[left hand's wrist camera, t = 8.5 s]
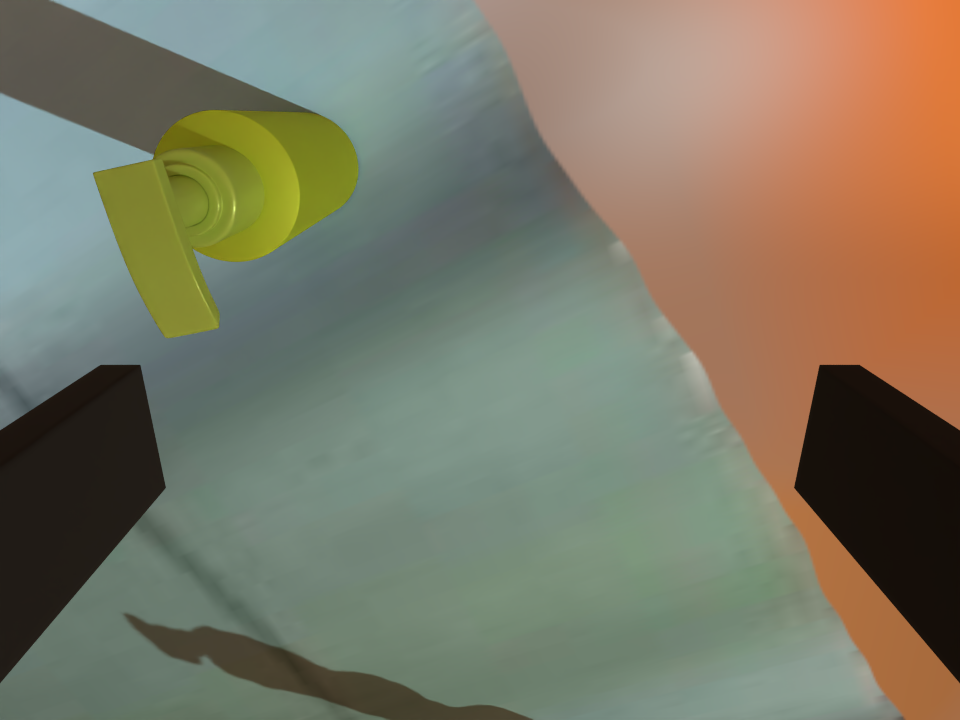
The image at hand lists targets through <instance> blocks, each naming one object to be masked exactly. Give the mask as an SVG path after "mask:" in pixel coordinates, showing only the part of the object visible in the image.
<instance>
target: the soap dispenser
mask: <svg viewBox="0 0 960 720" xmlns="http://www.w3.org/2000/svg"><path fill="white" fill-rule="evenodd" d="M93 175H94V178H95V181H96V184H97V187H98V190H99V193H100V196H101V199H102V201H103V204H104V207H105V210H106V213H107V216H108V218H109V221H110V224H111V227H112V229H113V232H114V235H115V238H116V240H117V243H118V245H119V248H120V251H121V253H122V256H123V258H124V261H125V263H126V265H127V268H128V270H129V272H130V275H131V277H132V279H133V281H134V283H135V285H136V287H137V289H138V291H139V293H140V295H141V297H142V299H143V301H144V303H145V305H146V307H147V308H148V310H149V312H150V314H151V316H152V317H153V319H154V321H155V322H156V324H157V326H158V327H159V329H160V331H161V332H162V334H163V335H164V337H166V338H172V337H177V336H183V335H188V334H193V333H198V332H203V331H208V330H213V329H217V328H219V316H220V314H219V311H218V308H217V306H216V304H215V302H214V300H213V298H212V296H211V294H210V292H209V290H208V287H207V285H206V283H205V280H204V278H203V275H202V273H201V270H200V268H199V265H198V263H197V260H196V257H195V254H194V252H193V249H194V250H196V251H198V252H200V253H202V254H204V255H206V256H209V257H211V258H214V259H218V260H223V261H230V262H242V261H250V260H254V259H257V258H260V257H263V256H265V255H267V254H269V253H270V252H272V251H274V250H275V249H277V248H278V247H280V246H281V245H283V244H284V243H286V242H288V241H289V240H291V239H292V238H294V237H295V236H297V235H298V234H300V233H302V232H303V231H305V230H306V229H308V228H309V227H311V226H312V225H314V224H315V223H317V222H319V221H320V220H322V219H323V218H325V217H326V216H328V215H329V214H331V213H333V212H334V211H336V210H337V209H339V208H340V207H341V206H343V205H344V204H345V203H346V202H347V200H348V199H349V198H350V196H351V195H352V193H353V191H354V189H355V186H356V183H357V178H358V160H357V155H356V152H355V149H354V147H353V145H352V143H351V141H350V139H349V138H348V136H347V135H346V134H345V132H344V131H343V130H342V129H341V128H340V127H339V126H338V125H336V124H335V123H334V122H332V121H331V120H329V119H327V118H325V117H323V116H320V115H317V114H314V113H306V112H272V111H237V110H206V111H201V112H197V113H193V114H191V115H188V116H186V117H184V118H182V119H181V120H179V121H178V122H176V123H175V124H174V125H173V126H172V127H171V128H169V130H168V131H167V132H166V133H165V134H164V136H163V137H162V139H161V140H160V142H159V144H158V146H157V148H156V151H155V154H154V157H153V159H152V160H149V161H144V162H139V163H135V164H130V165H126V166H121V167H117V168H112V169H107V170H103V171H98V172H94V173H93ZM192 248H193V249H192Z"/></svg>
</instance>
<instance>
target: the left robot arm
mask: <svg viewBox="0 0 960 720" xmlns="http://www.w3.org/2000/svg"><path fill="white" fill-rule="evenodd" d="M165 488H166V486H165V482H164V477H163V472H162V467H161V462H160V458H159V453H158V448H157V443H156V438H155V433H154V429H153V424H152V419H151V414H150V409H149V405H148V400H147V395H146V390H145V385H144V381H143V376H142V371H141V366H140V365H100V366H98V367H97V368H95V369H94V370H92V371H91V372H89V373H88V374H86V375H84V376H83V377H81V378H80V379H78V380H77V381H75V382H74V383H72V384H71V385H69V386H68V387H66V388H65V389H63V390H61V391H60V392H58V393H57V394H55V395H54V396H52V397H51V398H49V399H48V400H46V401H45V402H43V403H42V404H40V405H38V406H37V407H35V408H34V409H32V410H31V411H29V412H28V413H26V414H25V415H23V416H22V417H20V418H19V419H17V420H15V421H14V422H12V423H11V424H9V425H8V426H6V427H5V428H3V429H2V430H0V683H1V681H2V680H3V679H4V678H5V677H6V676H7V674H8V673H9V672H10V671H11V670H12V668H13V667H14V666H15V665H16V664H17V663H18V661H19V660H20V659H21V658H22V657H23V656H24V654H25V653H26V652H27V651H28V650H29V648H30V647H31V646H32V645H33V644H34V643H35V641H36V640H37V639H38V638H39V637H40V635H41V634H42V633H43V632H44V631H45V630H46V628H47V627H48V626H49V625H50V624H51V623H52V621H53V620H54V619H55V618H56V617H57V615H58V614H59V613H60V612H61V611H62V610H63V608H64V607H65V606H66V605H67V604H68V602H69V601H70V600H71V599H72V598H73V597H74V595H75V594H76V593H77V592H78V591H79V590H80V588H81V587H82V586H83V585H84V584H85V582H86V581H87V580H88V579H89V578H90V577H91V575H92V574H93V573H94V572H95V571H96V569H97V568H98V567H99V566H100V565H101V564H102V562H103V561H104V560H105V559H106V558H107V556H108V555H109V554H110V553H111V552H112V551H113V549H114V548H115V547H116V546H117V545H118V544H119V542H120V541H121V540H122V539H123V538H124V536H125V535H126V534H127V533H128V532H129V531H130V529H131V528H132V527H133V526H134V525H135V524H136V522H137V521H138V520H139V519H140V518H141V516H142V515H143V514H144V513H145V512H146V511H147V509H148V508H149V507H150V506H151V505H152V503H153V502H154V501H155V500H156V499H157V498H158V496H159V495H160V494H161V493H162V492H163V491H164V489H165ZM794 488H795V489H796V491H797V492H798V493H799V494H800V495H801V496H802V498H803V499H804V500H805V501H806V502H807V503H808V505H809V506H810V507H811V508H812V509H813V511H814V512H815V513H816V514H817V515H818V516H819V518H820V519H821V520H822V521H823V522H824V523H825V525H826V526H827V527H828V528H829V529H830V531H831V532H832V533H833V534H834V535H835V536H836V538H837V539H838V540H839V541H840V542H841V544H842V545H843V546H844V547H845V548H846V549H847V551H848V552H849V553H850V554H851V555H852V556H853V558H854V559H855V560H856V561H857V562H858V564H859V565H860V566H861V567H862V568H863V569H864V571H865V572H866V573H867V574H868V575H869V577H870V578H871V579H872V580H873V581H874V582H875V584H876V585H877V586H878V587H879V588H880V590H881V591H882V592H883V593H884V594H885V595H886V597H887V598H888V599H889V600H890V601H891V602H892V604H893V605H894V606H895V607H896V608H897V610H898V611H899V612H900V613H901V614H902V615H903V617H904V618H905V619H906V620H907V621H908V622H909V624H910V625H911V626H912V627H913V628H914V630H915V631H916V632H917V633H918V634H919V635H920V637H921V638H922V639H923V640H924V641H925V643H926V644H927V645H928V646H929V647H930V648H931V650H932V651H933V652H934V653H935V654H936V656H937V657H938V658H939V659H940V660H941V661H942V663H943V664H944V665H945V666H946V667H947V668H948V670H949V671H950V672H951V673H952V674H953V676H954V677H955V678H956V679H957V680H958V681H959V683H960V430H958V429H957V428H955V427H954V426H952V425H951V424H949V423H948V422H946V421H945V420H943V419H941V418H940V417H938V416H937V415H935V414H934V413H932V412H931V411H929V410H928V409H926V408H925V407H923V406H921V405H920V404H918V403H917V402H915V401H914V400H912V399H911V398H909V397H908V396H906V395H905V394H903V393H902V392H900V391H898V390H897V389H895V388H894V387H892V386H891V385H889V384H888V383H886V382H885V381H883V380H882V379H880V378H879V377H877V376H876V375H874V374H872V373H871V372H869V371H868V370H866V369H865V368H863V367H862V366H860V365H820V366H819V371H818V376H817V381H816V385H815V390H814V395H813V400H812V405H811V409H810V414H809V419H808V424H807V429H806V433H805V438H804V443H803V448H802V453H801V458H800V462H799V467H798V472H797V477H796V482H795V487H794Z"/></svg>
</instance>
